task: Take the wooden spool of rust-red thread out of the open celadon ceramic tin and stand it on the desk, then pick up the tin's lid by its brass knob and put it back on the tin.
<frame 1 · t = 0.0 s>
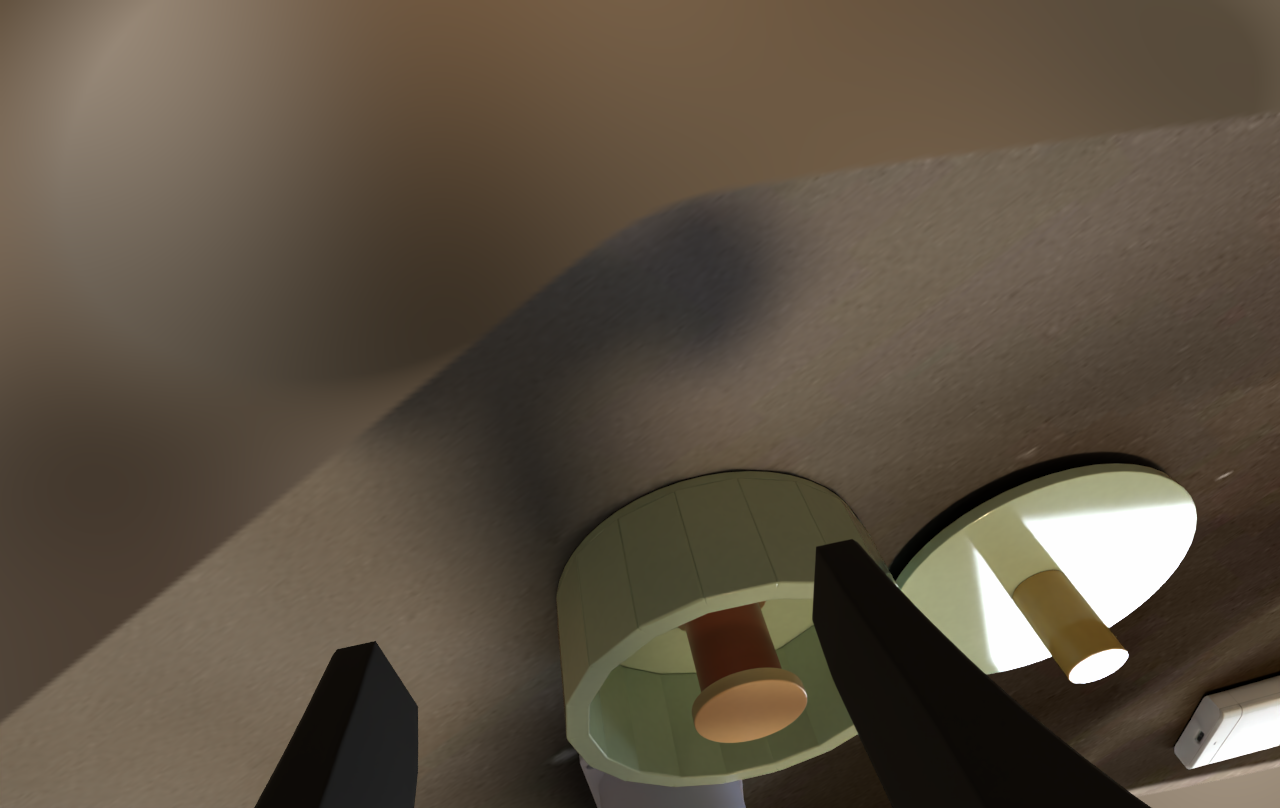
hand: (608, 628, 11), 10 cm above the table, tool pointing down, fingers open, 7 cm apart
lid: (1031, 578, 30), point 1 cm above the table
spool: (715, 594, 28), resting on tin
hard drive: (1278, 694, 45), on the table
tin: (713, 585, 28), on the table
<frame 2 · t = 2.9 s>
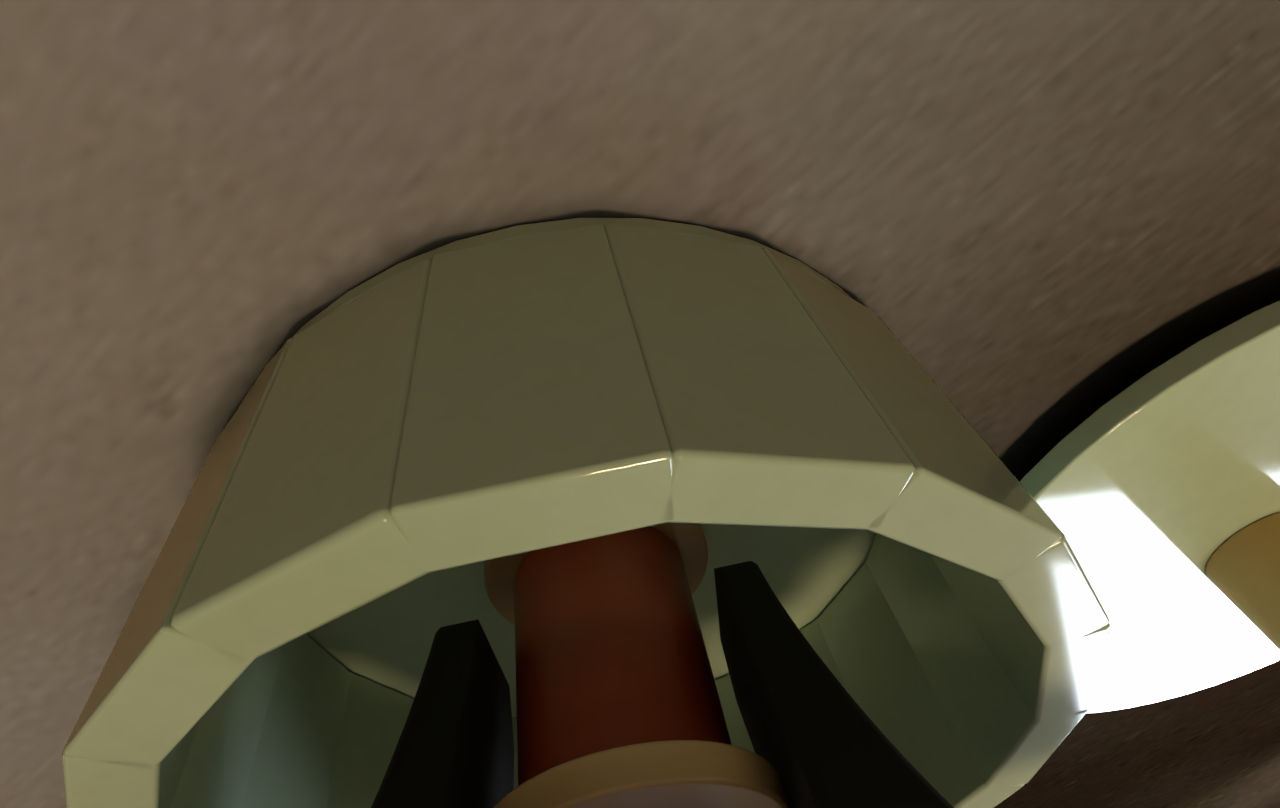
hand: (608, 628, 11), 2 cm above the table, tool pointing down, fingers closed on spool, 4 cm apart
lid: (1240, 529, 15), point 1 cm above the table
spool: (596, 553, 13), resting on tin, touching gripper
tin: (595, 537, 13), on the table
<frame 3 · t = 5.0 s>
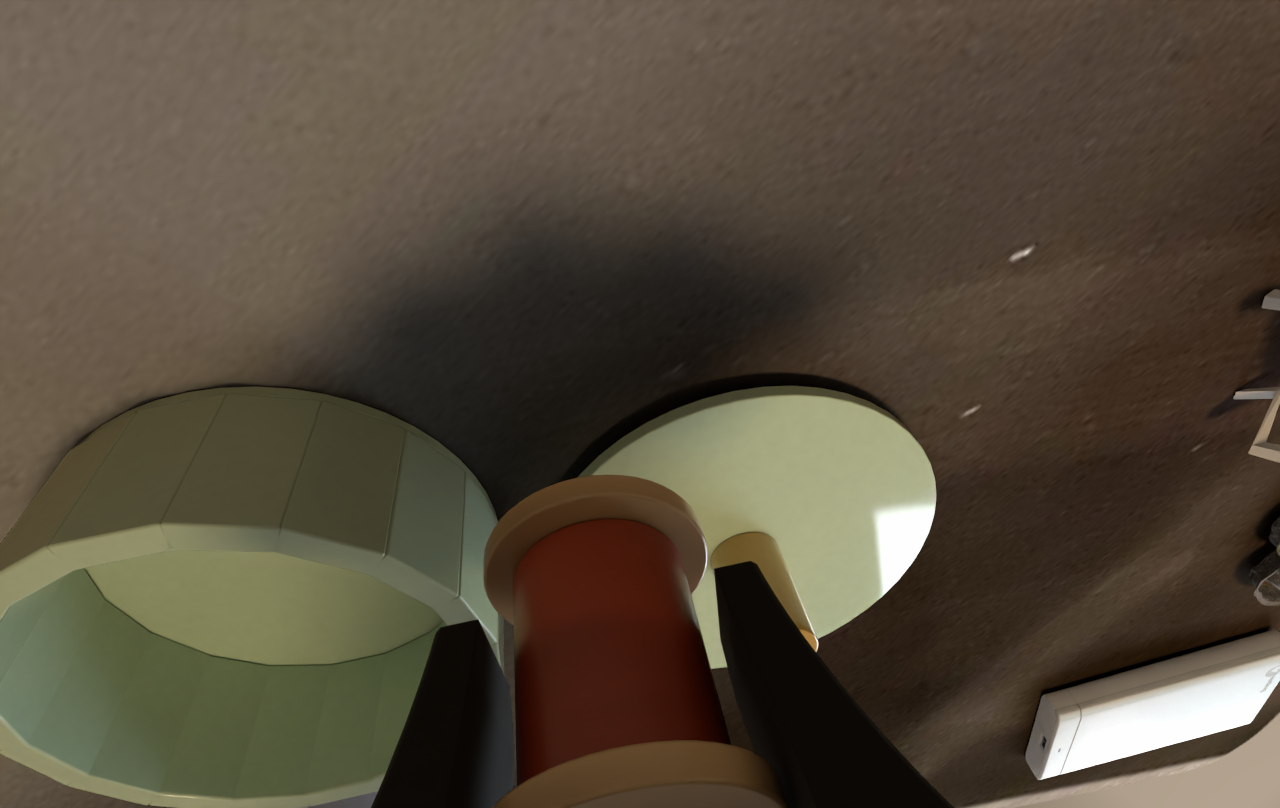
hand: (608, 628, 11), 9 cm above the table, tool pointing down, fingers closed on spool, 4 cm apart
lid: (740, 544, 24), point 1 cm above the table
spool: (595, 553, 13), point 7 cm above the table, touching gripper
hard drive: (1137, 692, 39), on the table
tin: (294, 550, 22), on the table
when the fingers open (2 cm above the table, at t = 7.4 s): spool stays where it is, on the table.
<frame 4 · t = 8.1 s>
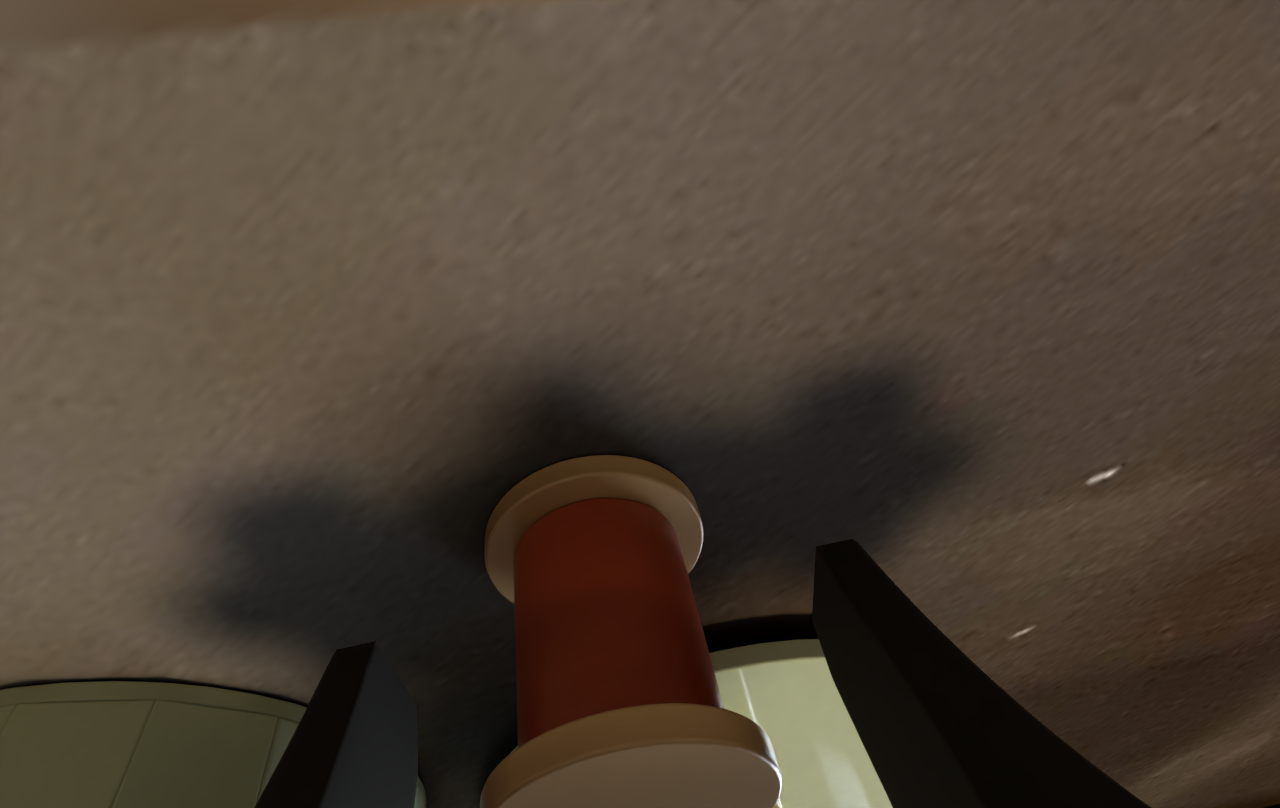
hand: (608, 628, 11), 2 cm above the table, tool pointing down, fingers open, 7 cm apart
lid: (730, 784, 19), point 1 cm above the table
spool: (594, 533, 13), on the table
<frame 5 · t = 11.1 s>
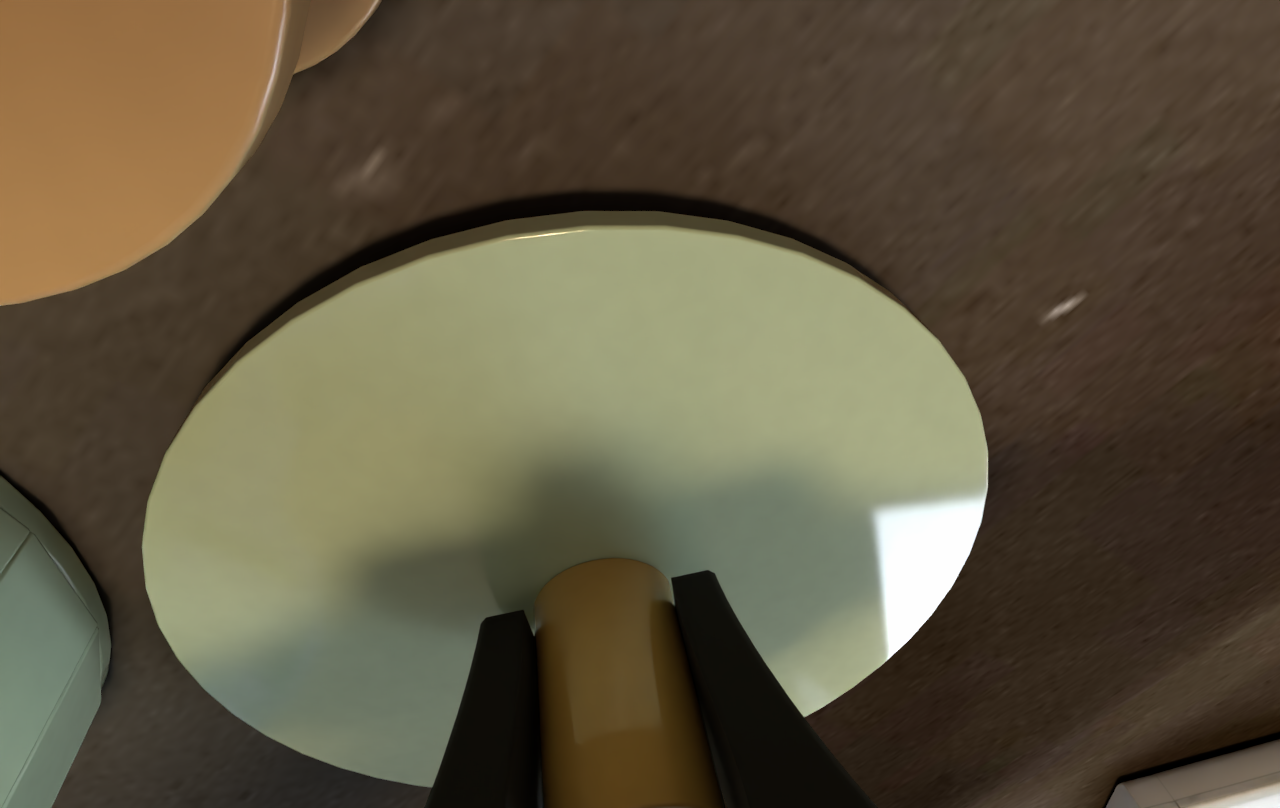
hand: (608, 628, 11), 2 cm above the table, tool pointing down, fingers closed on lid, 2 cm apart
lid: (600, 579, 12), point 1 cm above the table, touching gripper
hard drive: (1248, 772, 27), on the table
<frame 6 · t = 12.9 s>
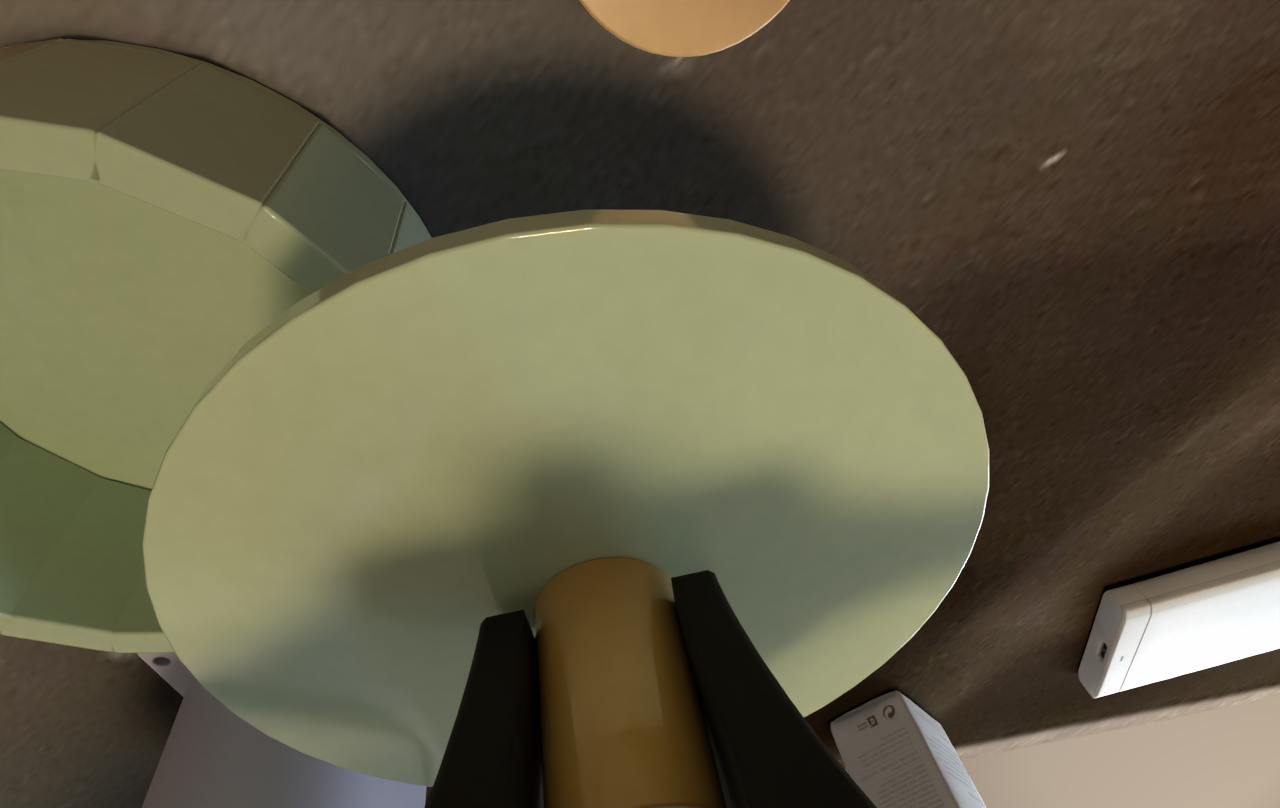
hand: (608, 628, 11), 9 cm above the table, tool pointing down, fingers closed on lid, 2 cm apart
cosmetic box: (886, 717, 36), on the table
lid: (601, 579, 12), point 8 cm above the table, touching gripper
hard drive: (1209, 596, 34), on the table
tin: (194, 325, 17), on the table
when the fingers open (6 cm above the table, at t = 15.1 s): lid stays where it is, resting on tin.
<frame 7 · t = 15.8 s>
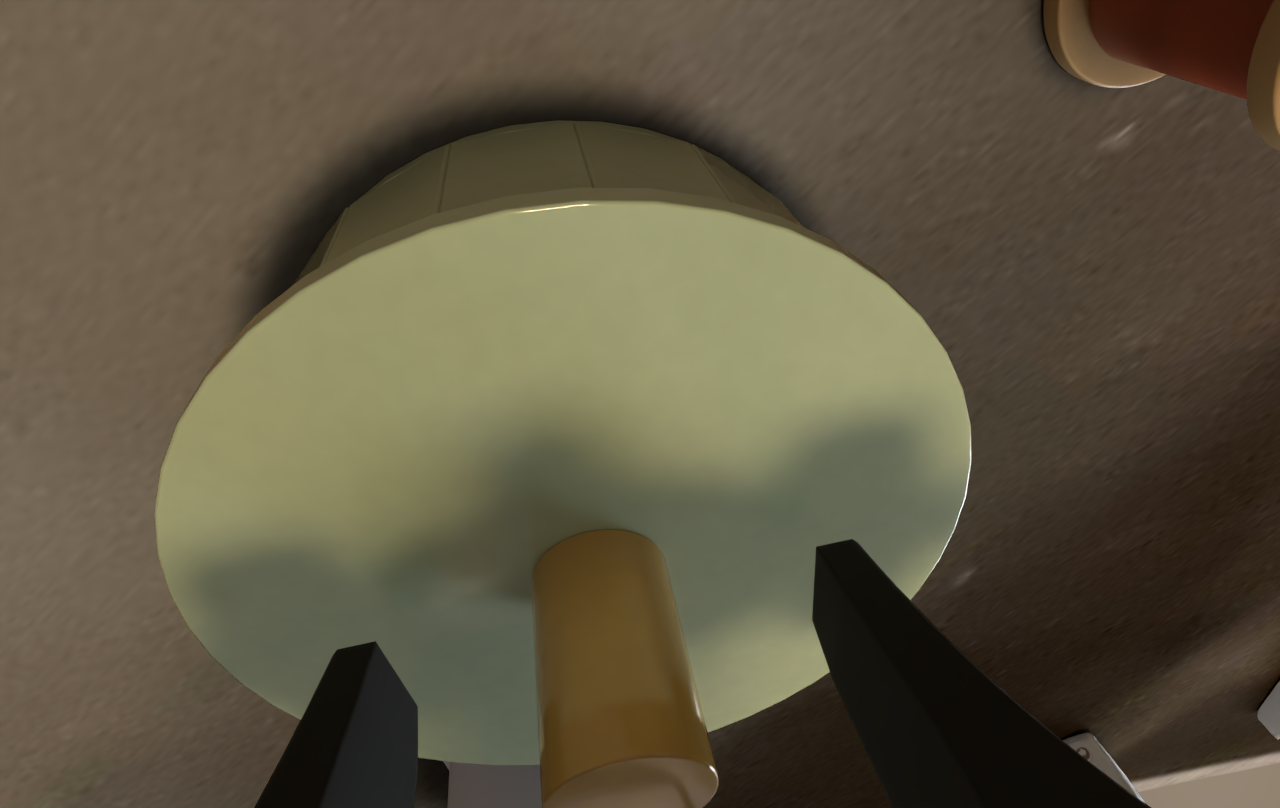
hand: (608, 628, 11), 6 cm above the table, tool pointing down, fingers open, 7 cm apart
cosmetic box: (1064, 756, 36), on the table
lid: (596, 553, 13), point 5 cm above the table, touching tin
tin: (574, 395, 16), on the table
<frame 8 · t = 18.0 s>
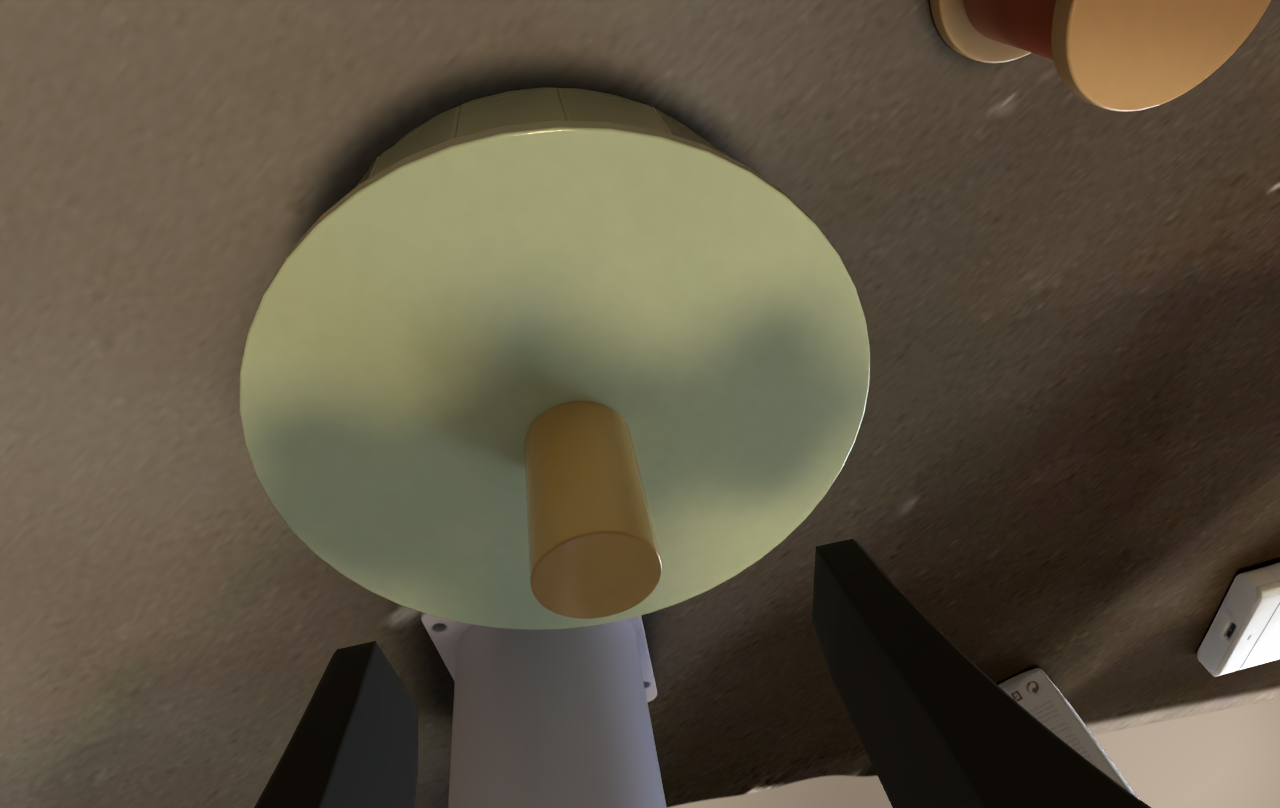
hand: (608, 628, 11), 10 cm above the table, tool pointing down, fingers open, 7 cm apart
cosmetic box: (1019, 695, 39), on the table
lid: (576, 429, 16), point 5 cm above the table, touching tin
tin: (561, 323, 20), on the table
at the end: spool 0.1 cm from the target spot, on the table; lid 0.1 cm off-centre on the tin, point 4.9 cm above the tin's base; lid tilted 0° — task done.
